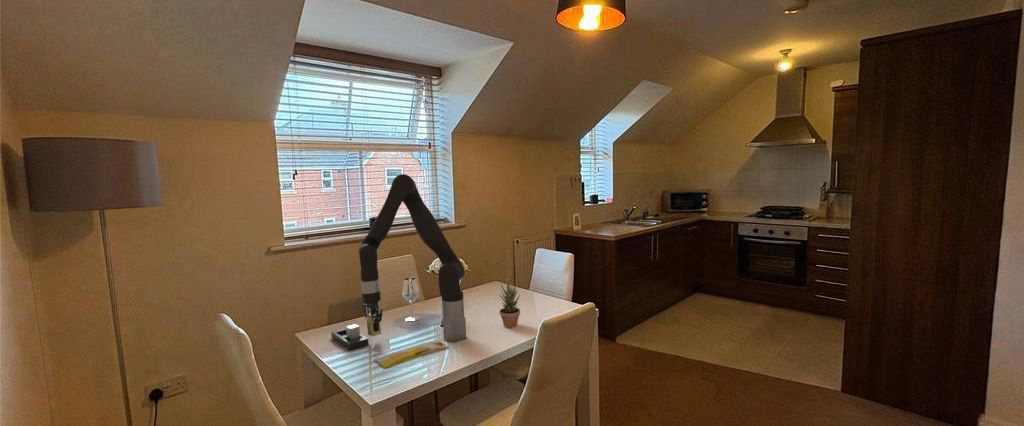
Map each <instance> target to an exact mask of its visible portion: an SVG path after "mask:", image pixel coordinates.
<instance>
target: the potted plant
mask: <svg viewBox="0 0 1024 426" xmlns="http://www.w3.org/2000/svg"><path fill="white" fill-rule="evenodd" d="M505 276H506V277H505V281H506V290H505V289H504V287H503V285H502V284H500V287H501V289H502V290H501V291H500V292H501V294H502V295H501V294H499V296H500V298H501V299H502V301H501V303H502V307H503V308H500V310H499V312H498V313H499V316H500V317H501V320H502V323H503V327H504V328H507V329H513V328H516V327H517V326H518V322H519V318H520V317H519V316H520V315H521V309H520V308H518V306H519V305H517V304H518V303H519V301H518V300H519V298H520V296H521V294H519V295H518V297H517V298H516V296H517V294H518V290H517V284H515V286H514V285H513V284H514V283H513V281H512V283H511V287H510V280H509V275H508V274H507V273H506V274H505ZM515 298H516V299H515Z"/></svg>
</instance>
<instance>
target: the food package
mask: <svg viewBox="0 0 1024 426" xmlns="http://www.w3.org/2000/svg"><path fill="white" fill-rule="evenodd" d="M448 348H449V346H448V345H446V344H444V343H443V342H441V341H440V340H437V339H436V340H430V341H426V342H423V343H420V344H416V345H413V346H410V347H406V348H403V349H399V350H395V351H393V352H390V353H388V354H387V353H386V354H385V355H383V356H380V357H377V358H374V359H373V360H374V361H375V362H376V363H377V364H379V365H380V366H382V367H383V369H385V368H391V367H393V366H396V365H399V364H401V363H403V362H407V361H410V360H414V359H416V358H419V357H422V356H425V355H428V354H432V353H436V352H438V351H441V350H444V349H448ZM382 367H381V368H382Z"/></svg>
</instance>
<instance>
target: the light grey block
mask: <svg viewBox="0 0 1024 426" xmlns="http://www.w3.org/2000/svg"><path fill="white" fill-rule="evenodd" d="M345 328H346V332H347V341H349V342H350V341H354V340H357V339H360V334H361V333H360V329H361V328H360V326H359V325H358V324H356V323H354V324H351V325H346V326H345Z"/></svg>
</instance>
